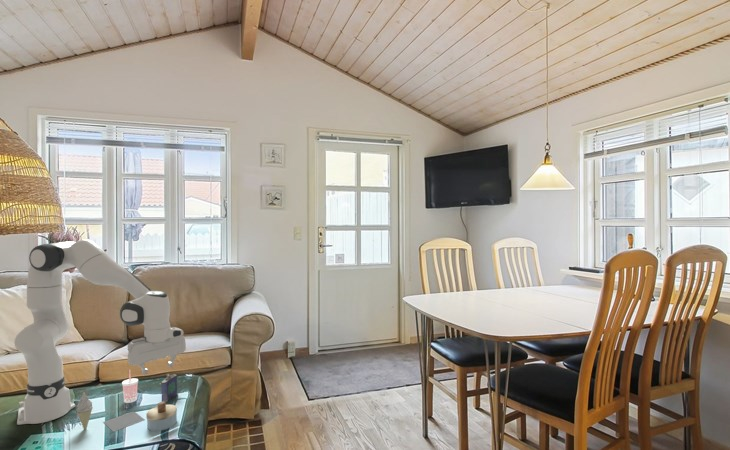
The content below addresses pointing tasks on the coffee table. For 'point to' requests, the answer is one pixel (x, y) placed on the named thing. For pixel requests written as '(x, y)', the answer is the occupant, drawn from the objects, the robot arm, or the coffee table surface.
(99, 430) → the coffee table surface
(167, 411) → the lid
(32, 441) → the coffee table surface
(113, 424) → the mat
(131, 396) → the beverage cup
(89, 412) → the ice cream cone
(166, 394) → the flask
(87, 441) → the coffee table surface
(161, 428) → the bowl
